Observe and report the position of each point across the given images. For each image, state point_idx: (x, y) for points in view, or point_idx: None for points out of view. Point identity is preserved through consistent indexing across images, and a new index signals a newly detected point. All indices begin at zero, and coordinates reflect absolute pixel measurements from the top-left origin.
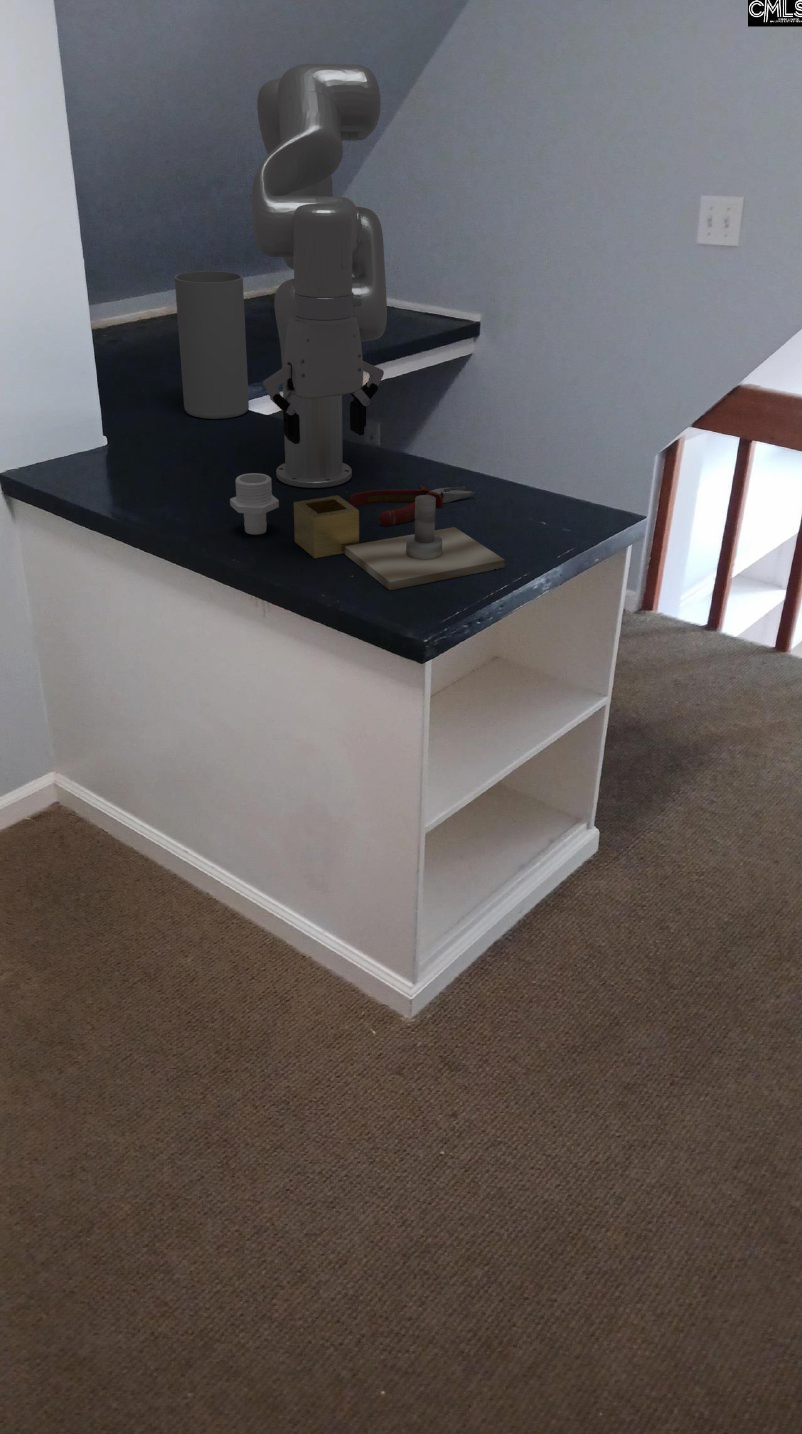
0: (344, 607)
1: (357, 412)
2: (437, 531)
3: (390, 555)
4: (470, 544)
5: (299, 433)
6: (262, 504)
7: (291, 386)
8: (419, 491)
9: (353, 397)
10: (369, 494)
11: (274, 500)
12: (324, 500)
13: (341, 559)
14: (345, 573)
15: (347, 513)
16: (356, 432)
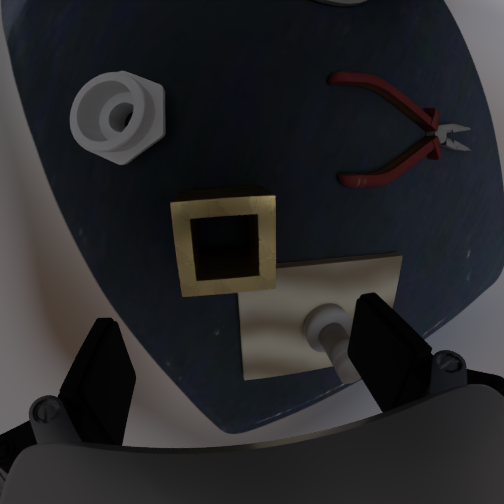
0: (182, 389)
1: (380, 394)
2: (379, 262)
3: (282, 320)
4: None
5: (130, 398)
6: (124, 150)
7: (50, 459)
8: (427, 123)
9: (426, 386)
10: (367, 83)
11: (155, 130)
12: (236, 214)
13: None
14: (212, 323)
15: (251, 290)
16: (351, 340)
